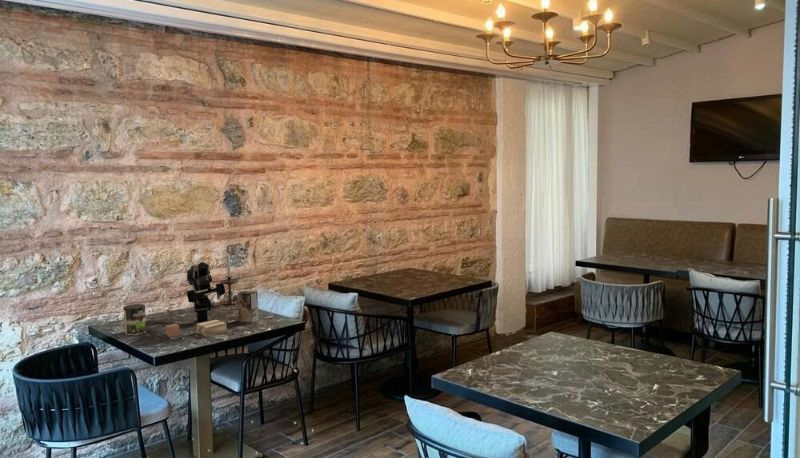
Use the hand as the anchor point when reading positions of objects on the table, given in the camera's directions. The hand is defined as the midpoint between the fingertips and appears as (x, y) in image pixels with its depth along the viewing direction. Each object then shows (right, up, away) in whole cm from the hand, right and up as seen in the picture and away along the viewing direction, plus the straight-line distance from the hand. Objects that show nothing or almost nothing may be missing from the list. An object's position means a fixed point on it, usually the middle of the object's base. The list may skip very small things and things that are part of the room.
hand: (209, 301), depth 294 cm
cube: (-18, -17, -1) cm, 25 cm away
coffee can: (-39, -17, +4) cm, 43 cm away
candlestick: (-9, -10, +66) cm, 68 cm away
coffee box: (+14, -14, +25) cm, 32 cm away
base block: (0, -17, +3) cm, 17 cm away
